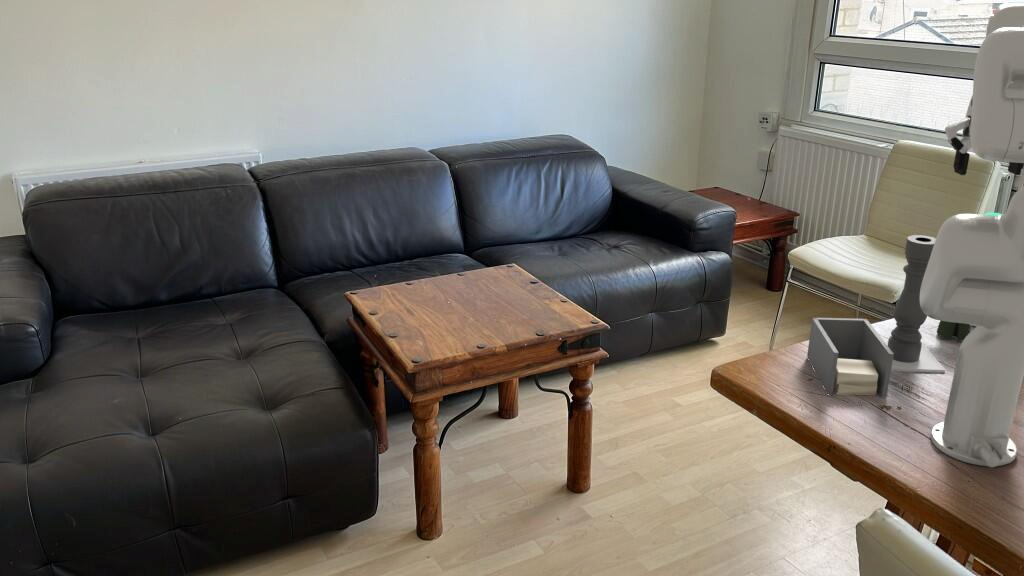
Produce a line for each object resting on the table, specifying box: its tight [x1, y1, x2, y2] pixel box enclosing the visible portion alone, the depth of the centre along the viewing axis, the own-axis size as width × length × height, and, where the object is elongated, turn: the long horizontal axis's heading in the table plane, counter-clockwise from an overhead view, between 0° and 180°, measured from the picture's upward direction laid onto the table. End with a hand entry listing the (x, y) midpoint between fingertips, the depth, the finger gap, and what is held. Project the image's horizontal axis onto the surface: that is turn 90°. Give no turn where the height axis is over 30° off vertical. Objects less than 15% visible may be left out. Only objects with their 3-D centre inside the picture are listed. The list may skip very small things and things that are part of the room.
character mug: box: [936, 320, 971, 342], centre depth 173 cm, size 11×7×13 cm, turn 69°
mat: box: [885, 342, 946, 374], centre depth 166 cm, size 12×12×1 cm
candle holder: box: [887, 234, 936, 363], centre depth 162 cm, size 6×6×25 cm
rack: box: [806, 317, 894, 398], centre depth 158 cm, size 16×11×9 cm, turn 175°
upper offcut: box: [835, 358, 878, 387], centre depth 154 cm, size 6×7×2 cm
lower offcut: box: [833, 380, 878, 396], centre depth 155 cm, size 6×7×2 cm
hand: (986, 173), depth 149 cm, fingers open, 9 cm apart
